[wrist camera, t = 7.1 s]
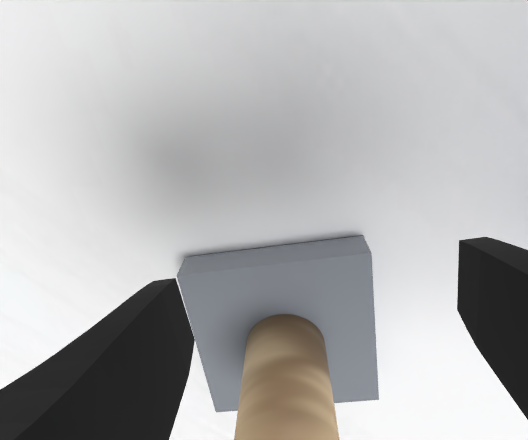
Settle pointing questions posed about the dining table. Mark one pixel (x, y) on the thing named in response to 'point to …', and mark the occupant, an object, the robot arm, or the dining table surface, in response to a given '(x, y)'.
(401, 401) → the dining table surface
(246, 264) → the plate
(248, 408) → the oak cylinder
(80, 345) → the robot arm
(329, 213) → the dining table surface
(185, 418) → the dining table surface
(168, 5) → the dining table surface
